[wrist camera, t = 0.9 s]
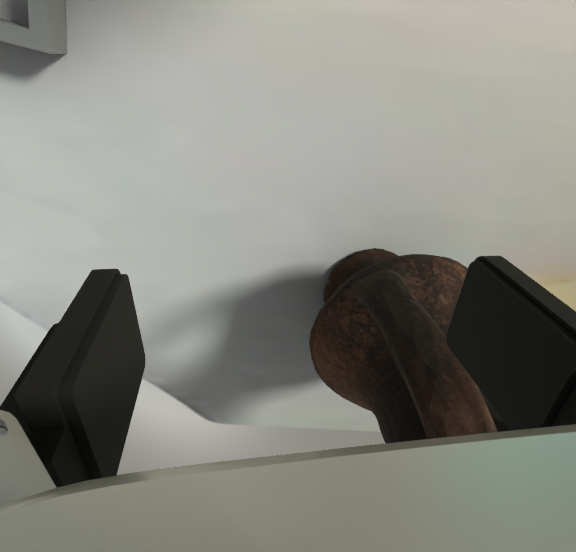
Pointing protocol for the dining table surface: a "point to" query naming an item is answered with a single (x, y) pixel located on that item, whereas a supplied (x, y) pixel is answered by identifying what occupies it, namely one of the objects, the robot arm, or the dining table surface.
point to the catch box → (39, 27)
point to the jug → (399, 346)
